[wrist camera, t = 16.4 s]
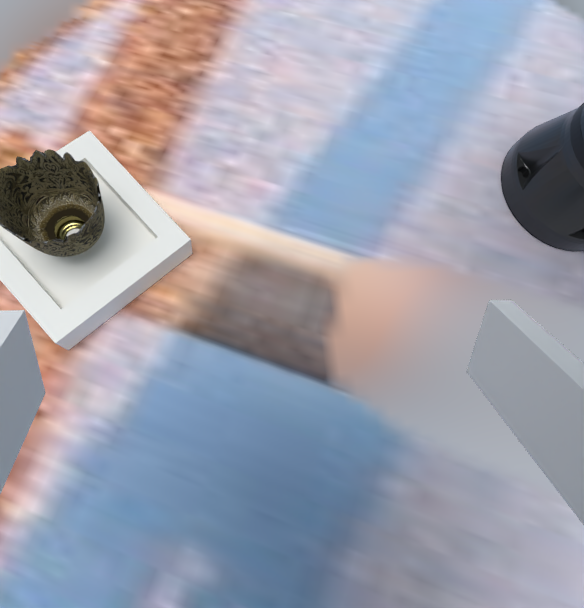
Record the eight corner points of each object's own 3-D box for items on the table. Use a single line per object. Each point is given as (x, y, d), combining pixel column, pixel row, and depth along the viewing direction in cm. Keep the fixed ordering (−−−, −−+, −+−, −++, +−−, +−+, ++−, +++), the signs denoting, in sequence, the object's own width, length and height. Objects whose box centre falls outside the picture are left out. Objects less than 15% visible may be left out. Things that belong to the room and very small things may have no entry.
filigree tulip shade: (31, 200, 42) (-10, 148, 34) (118, 197, 43) (97, 147, 35) (30, 279, 40) (-13, 243, 32) (120, 274, 41) (99, 238, 34)
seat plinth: (98, 152, 46) (89, 130, 43) (192, 253, 45) (190, 239, 42) (-32, 236, 42) (-53, 219, 39) (68, 350, 41) (55, 343, 37)
